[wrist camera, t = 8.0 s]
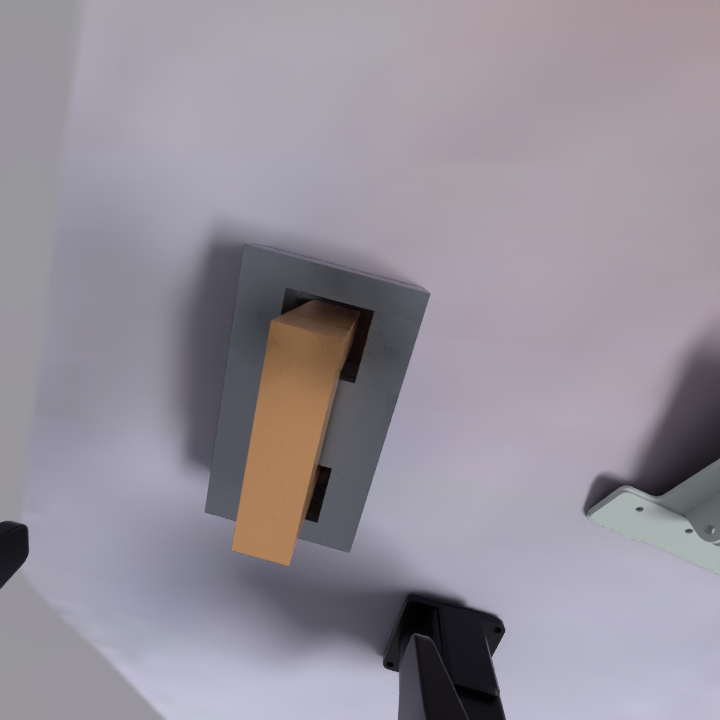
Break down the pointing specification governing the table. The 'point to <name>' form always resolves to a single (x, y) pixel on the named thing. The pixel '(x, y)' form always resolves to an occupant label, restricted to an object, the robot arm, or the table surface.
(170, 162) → the table surface
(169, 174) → the table surface
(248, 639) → the table surface
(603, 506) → the metal bracket
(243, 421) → the slotted plate
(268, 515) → the clip
